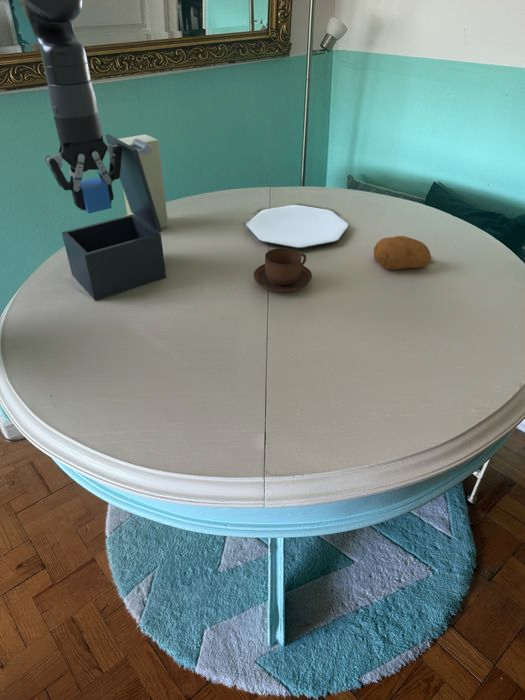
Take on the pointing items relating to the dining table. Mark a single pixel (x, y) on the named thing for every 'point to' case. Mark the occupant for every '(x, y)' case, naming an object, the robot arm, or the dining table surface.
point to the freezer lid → (136, 181)
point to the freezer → (115, 255)
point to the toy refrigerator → (151, 176)
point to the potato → (401, 253)
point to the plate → (297, 226)
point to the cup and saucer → (283, 271)
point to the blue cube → (95, 195)
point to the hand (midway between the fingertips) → (95, 205)
